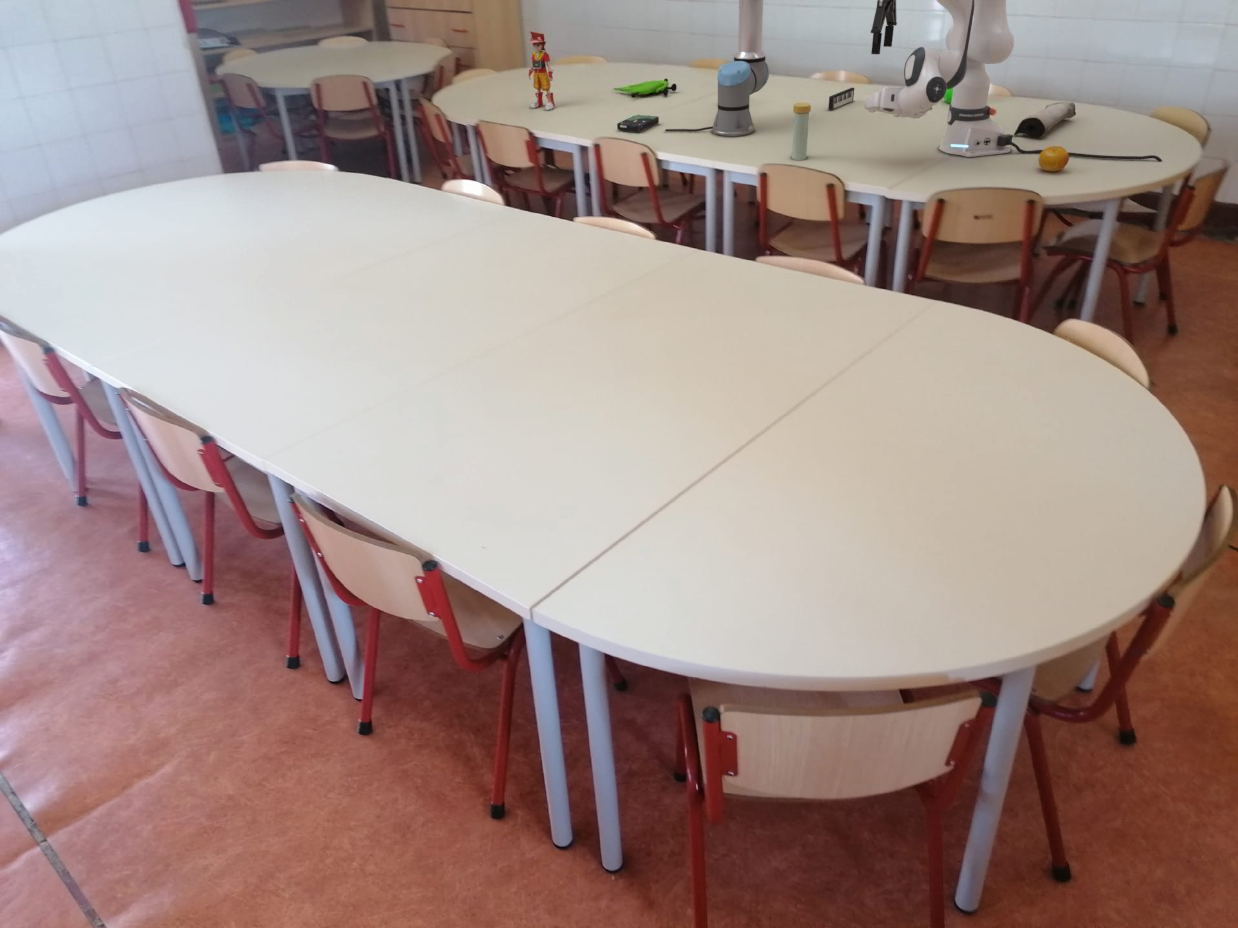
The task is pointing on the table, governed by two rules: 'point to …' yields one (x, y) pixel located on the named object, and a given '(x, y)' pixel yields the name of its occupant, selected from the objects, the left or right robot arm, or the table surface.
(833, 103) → the midi keyboard
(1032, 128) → the rolled mat
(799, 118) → the jar
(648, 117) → the disk drive
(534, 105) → the toy
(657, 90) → the toy
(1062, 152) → the fruit
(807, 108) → the lid
